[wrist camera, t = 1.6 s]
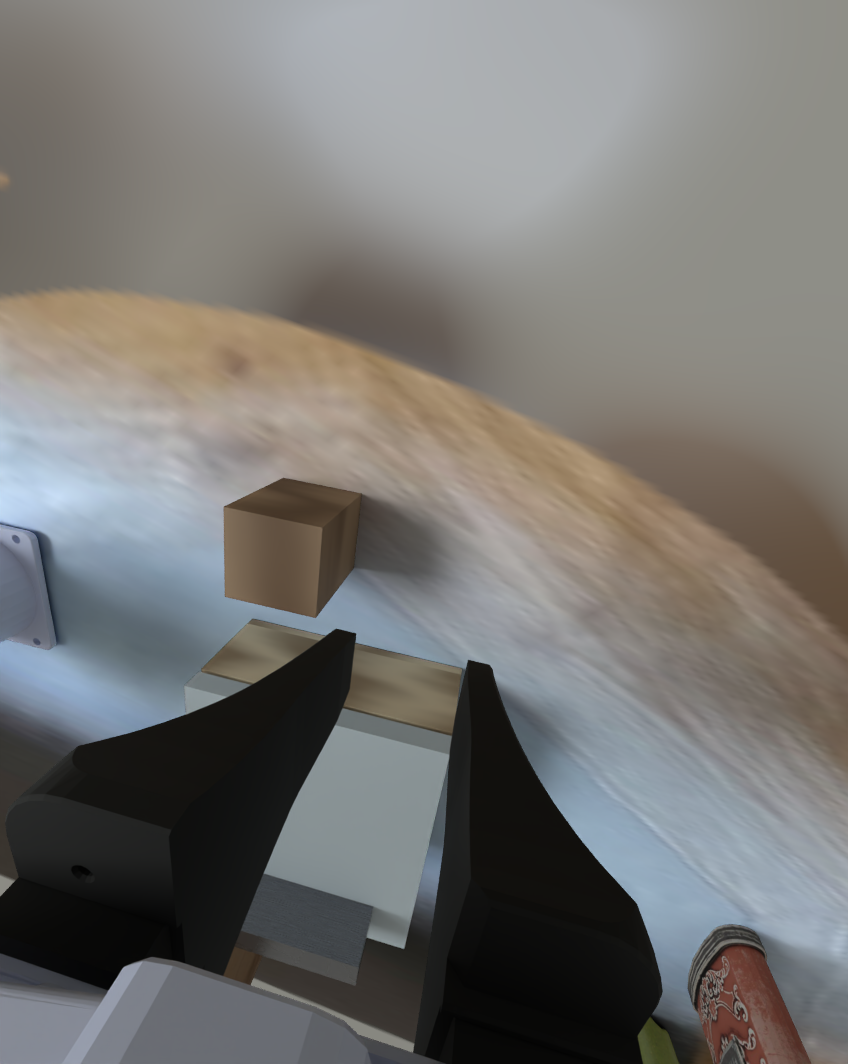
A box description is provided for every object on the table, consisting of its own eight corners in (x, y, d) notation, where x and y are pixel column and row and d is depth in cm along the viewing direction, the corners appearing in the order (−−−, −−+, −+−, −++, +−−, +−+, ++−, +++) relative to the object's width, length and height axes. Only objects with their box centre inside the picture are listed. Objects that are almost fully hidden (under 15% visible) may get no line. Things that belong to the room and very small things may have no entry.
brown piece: (250, 793, 30) (208, 862, 26) (252, 618, 25) (201, 668, 21) (422, 842, 29) (408, 922, 24) (462, 668, 23) (453, 732, 19)
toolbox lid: (206, 865, 25) (163, 938, 22) (198, 671, 20) (140, 728, 17) (407, 926, 24) (392, 1012, 21) (452, 736, 19) (442, 810, 16)
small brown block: (280, 551, 23) (224, 596, 18) (283, 477, 22) (223, 506, 17) (354, 567, 23) (315, 618, 18) (361, 493, 21) (322, 527, 17)
